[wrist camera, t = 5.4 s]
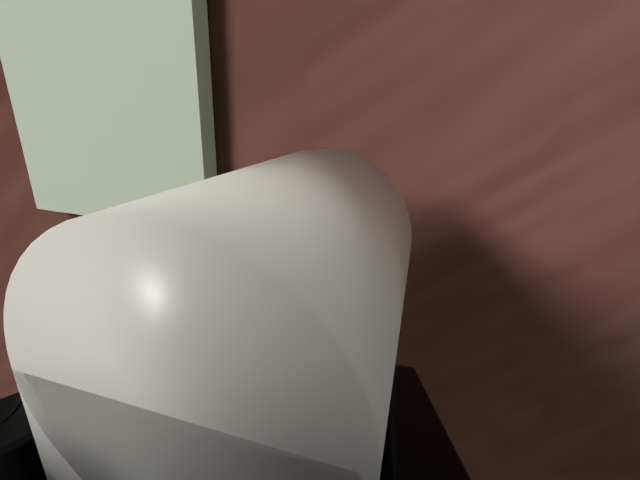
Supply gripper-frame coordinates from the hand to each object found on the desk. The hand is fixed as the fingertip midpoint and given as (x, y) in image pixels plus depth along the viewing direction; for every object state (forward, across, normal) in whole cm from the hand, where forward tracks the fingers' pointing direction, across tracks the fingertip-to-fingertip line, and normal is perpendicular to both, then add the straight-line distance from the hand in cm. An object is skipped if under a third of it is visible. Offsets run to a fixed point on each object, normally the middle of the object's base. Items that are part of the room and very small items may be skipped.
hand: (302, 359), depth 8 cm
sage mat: (+5, +9, -7) cm, 12 cm away
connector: (+1, 0, +1) cm, 2 cm away
